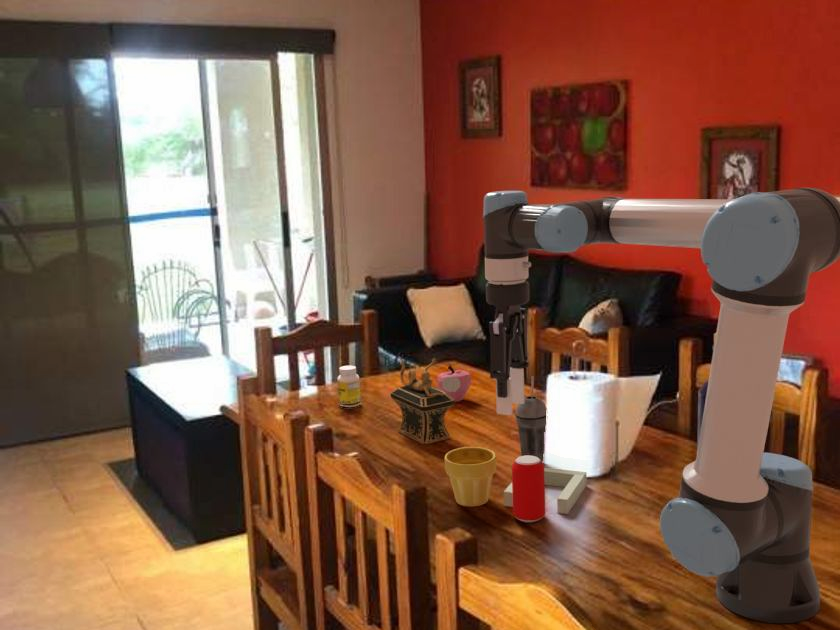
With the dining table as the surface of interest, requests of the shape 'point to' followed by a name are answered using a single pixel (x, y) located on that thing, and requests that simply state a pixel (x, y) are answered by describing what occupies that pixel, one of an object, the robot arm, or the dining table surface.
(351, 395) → the pill bottle
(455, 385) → the apple
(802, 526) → the robot arm
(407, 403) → the decorative box
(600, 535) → the dining table surface
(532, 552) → the dining table surface
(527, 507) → the beverage can
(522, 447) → the beverage cup
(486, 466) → the plant pot
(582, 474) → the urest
